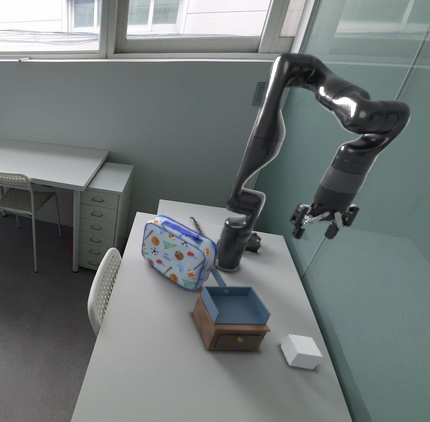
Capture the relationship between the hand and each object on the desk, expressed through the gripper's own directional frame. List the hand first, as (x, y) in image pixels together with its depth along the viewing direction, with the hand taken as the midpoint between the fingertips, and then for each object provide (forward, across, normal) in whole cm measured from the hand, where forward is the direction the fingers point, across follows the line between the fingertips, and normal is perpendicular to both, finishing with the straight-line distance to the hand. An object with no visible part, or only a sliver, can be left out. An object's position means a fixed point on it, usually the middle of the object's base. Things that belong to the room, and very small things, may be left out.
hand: (311, 237), depth 83 cm
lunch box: (+32, +26, -20) cm, 46 cm away
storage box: (+32, +18, +6) cm, 38 cm away
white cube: (+32, +1, +15) cm, 36 cm away
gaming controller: (+32, -10, -37) cm, 50 cm away
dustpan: (+22, +18, +1) cm, 29 cm away
